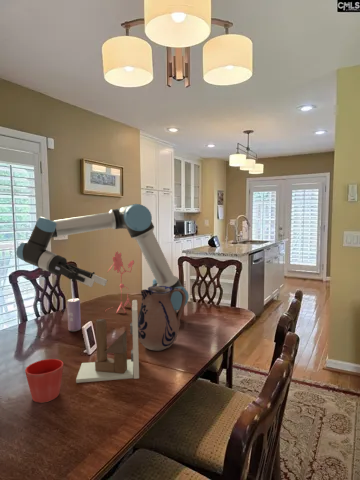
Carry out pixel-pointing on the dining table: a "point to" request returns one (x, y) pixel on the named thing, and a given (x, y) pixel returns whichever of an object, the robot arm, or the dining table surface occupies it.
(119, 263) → the figurine
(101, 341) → the wooden block
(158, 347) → the ceramic pitcher
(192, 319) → the dining table surface
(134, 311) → the white l-shaped bracket
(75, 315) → the beverage can
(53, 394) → the flower pot
